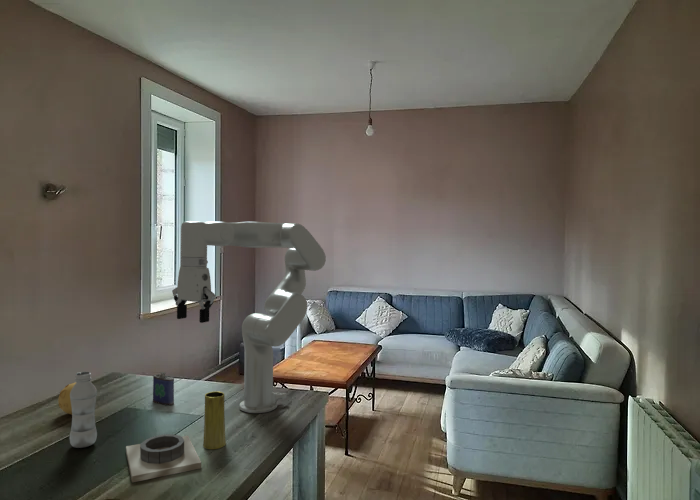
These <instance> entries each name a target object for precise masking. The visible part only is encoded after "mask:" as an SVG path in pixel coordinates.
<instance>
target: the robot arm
mask: <svg viewBox="0 0 700 500" xmlns="http://www.w3.org/2000/svg"><path fill="white" fill-rule="evenodd" d="M208 246H212V247H214V246H215V247H225V246H235V247H242V248H253V249H254V248H257V249H258V248H261V249H263V248H271V249H273V248H275V249H277V248H279V249H280V248H281V249H283V248H286V249H287V250H286V252H285V254H284V265H285V267H284V268H285V273H284V276H283V278H282V279H281V281H280V282H279V283H278V284H277V286H276V287H275V288H274V289H273V290H272V291H271V293H270V294H269V296H267V297H266V299H265V302H264V304H263V305H264V310H265V312H266V313H267V314H266V313H262V312H254V313H251V314H249V315H247V316H246V317H245V318H244V320H243V322H242V323H241V324H242V325H241V334H242V335H241V336H242V341H243V346H244V348H243V349H244V365H243V366H244V372H243V373H244V375H243V377H244V379H243V381H244V382H243V383H244V385H243V387H244V388H243V390H244V391H243V395H244V396H243V398H244V399H243V400H242V401H241V402H240V403H239V405H238V406H239V407H238V408H239V410H241V411H242V412H245V413H249V414H261V413H262V414H263V413H268V412H271V411H273V410H275V409H277V407H278V401H279V400H286V399H287V397H288V395H287V393H286V392H282V393H281V392H280V391H278V392H274V349H273V347H279V346H282V345H284V343H286V342H287V340H289V338H290V337H291V336H292V334H293V333H294V332H295V330H296V329H297V328H298V326H300V324H301V323H302V321H303V320H304V318H305V316H306V315H307V311H308V301H307V299H306V297H305V296H304V295H302V293H303V292H304V291H305V289H306V284H307V279H306V271H312V272H315V271H319V270H321V269H323V268H324V266H325V263H326V257H327V256H326V254H325V251H324V249H323V247H322V246H321V245H320V243H319V242H318V241H317V239H316V238H315V237H314V236H313V234H312V233H311V232H310V231H309V230H308V229H307V228H306V227H305V226H304V225H302V224H300V223H295V222H293V223H292V222H291V223H289V222H285V223H284V222H268V221H267V222H266V221H265V222H263V221H240V222H226V221H214V220H213V221H196V220H195V221H193V220H192V221H191V220H189V221H188V220H187V221H183V222H182V223H181V225H180V265H179V266H180V267H179V271H178V276H177V287H175V288H173V289H172V296H173V300H174V302H175V306H176V319H177V320H182V319H187V317H188V315H187V314H188V313H187V312H188V311H187V309H188V306H187V302H192V303H198V305H199V307H200V308H199V318H198V319H199V320H198V321H199V323H200V324H205V323H209V322H210V309H211V308H212V305H213V304H214V301H215V298H216V294H215V293H214V292H213V291H212V284H211V274H210V269H209V267H208V263H209V262H208Z"/></svg>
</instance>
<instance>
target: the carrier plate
mask: <svg viewBox="0 0 700 500" xmlns="http://www.w3.org/2000/svg"><path fill="white" fill-rule="evenodd" d="M125 453H126V459H127V463H128V465H127V466H128V470H129V475H130V479H131V480H130V481H131V483H136V482H141V481H147V480H150V479H155V478H160V477H165V476H171V475H174V474H175V475H176V474H180V473H184V472H189V471H194V470H200V469H202V461H201V459H200V456H199V454H198V452H197V451H196V448H195V446H194V445H193V443H192V441H191V439H190V436H189V435H183V436H181V435H178V434H174V433H173V434H170V433H169V434H168V433H166V434H165V433H164V434H159V435H158V434H157V435H154V436H151V437H149V438H146V439H144V440H143V441H142V442H141V443H137V444H132V445H126V446H125Z"/></svg>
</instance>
